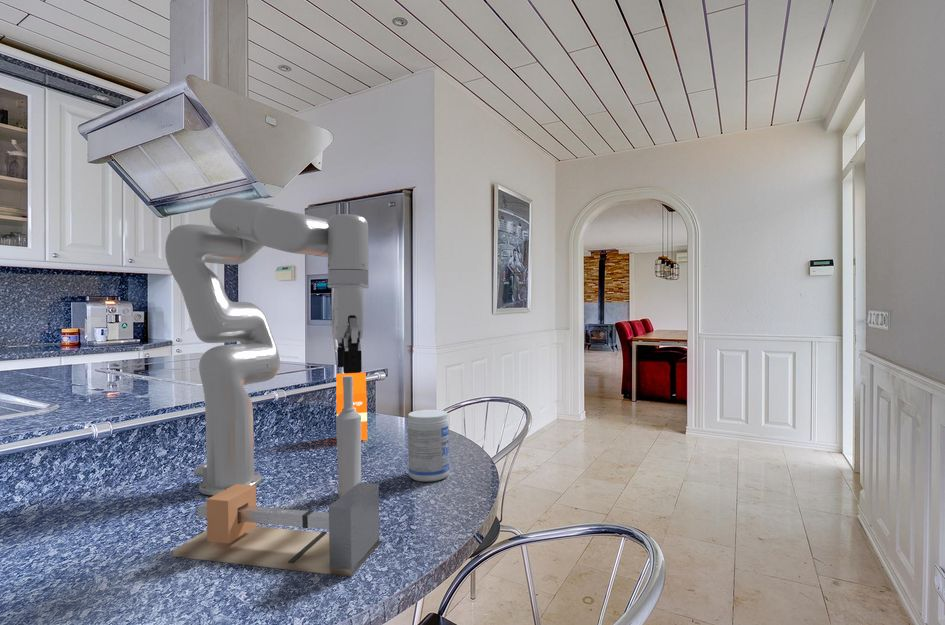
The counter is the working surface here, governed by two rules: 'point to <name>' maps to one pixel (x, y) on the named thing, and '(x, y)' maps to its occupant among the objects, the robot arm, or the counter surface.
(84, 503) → the counter surface
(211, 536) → the tan notched block
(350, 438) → the bottle
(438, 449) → the supplement tub
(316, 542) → the base board
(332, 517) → the slider rail assembly
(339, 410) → the orange juice
